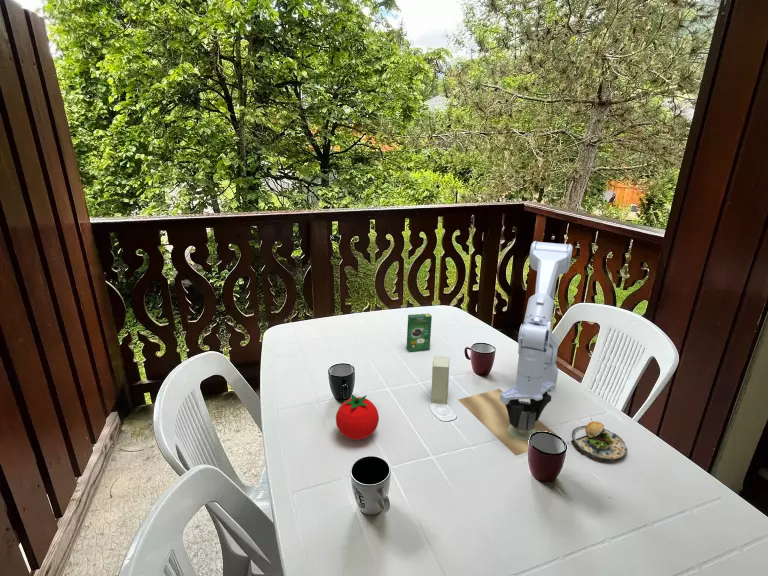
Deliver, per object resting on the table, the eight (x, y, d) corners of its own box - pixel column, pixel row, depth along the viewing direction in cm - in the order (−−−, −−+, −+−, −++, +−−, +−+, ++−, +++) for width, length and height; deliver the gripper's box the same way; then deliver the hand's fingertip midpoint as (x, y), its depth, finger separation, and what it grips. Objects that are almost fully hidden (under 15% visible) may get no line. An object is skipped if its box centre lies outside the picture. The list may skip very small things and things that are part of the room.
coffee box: (428, 346, 147) (429, 312, 143) (430, 350, 144) (432, 315, 140) (406, 348, 146) (407, 314, 141) (408, 352, 143) (409, 317, 139)
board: (498, 391, 119) (500, 376, 118) (562, 443, 98) (565, 425, 97) (457, 402, 114) (458, 386, 113) (515, 459, 93) (517, 440, 92)
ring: (523, 414, 104) (525, 399, 103) (539, 427, 99) (541, 410, 98) (505, 420, 102) (507, 404, 101) (521, 433, 97) (522, 416, 96)
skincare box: (446, 407, 112) (449, 367, 108) (430, 405, 113) (432, 366, 109) (448, 395, 118) (450, 356, 114) (432, 393, 119) (434, 355, 115)
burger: (603, 471, 90) (609, 443, 88) (559, 439, 100) (563, 413, 98) (637, 454, 95) (644, 427, 93) (592, 425, 105) (597, 400, 103)
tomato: (384, 426, 104) (384, 391, 101) (369, 453, 95) (369, 416, 92) (346, 417, 108) (345, 384, 105) (329, 443, 98) (327, 407, 95)
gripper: (516, 387, 89) (510, 439, 94) (567, 374, 95) (559, 424, 99) (496, 372, 96) (491, 421, 100) (544, 360, 101) (538, 408, 105)
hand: (523, 421), depth 100 cm, fingers closed on ring, 6 cm apart
